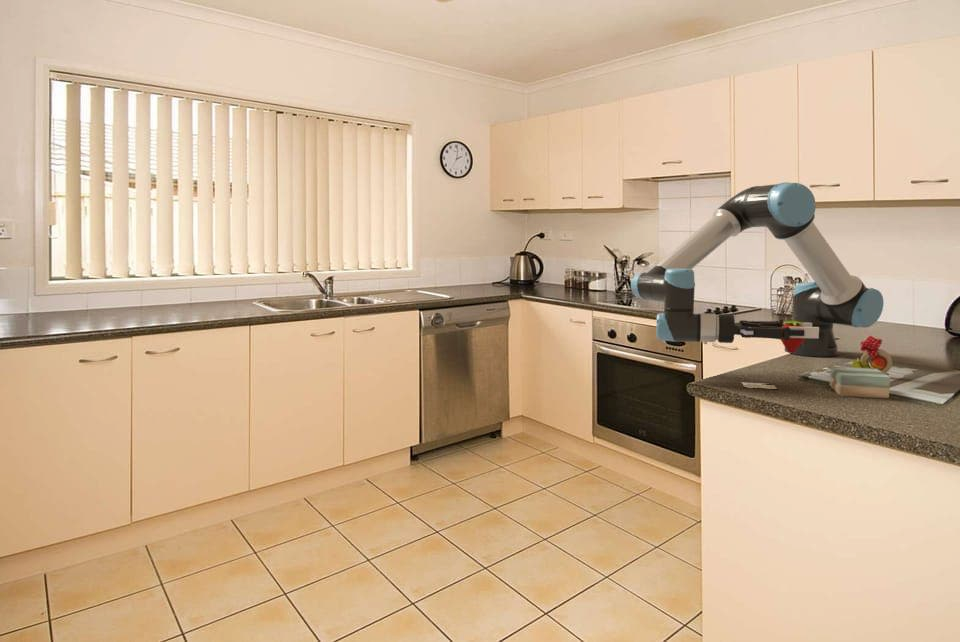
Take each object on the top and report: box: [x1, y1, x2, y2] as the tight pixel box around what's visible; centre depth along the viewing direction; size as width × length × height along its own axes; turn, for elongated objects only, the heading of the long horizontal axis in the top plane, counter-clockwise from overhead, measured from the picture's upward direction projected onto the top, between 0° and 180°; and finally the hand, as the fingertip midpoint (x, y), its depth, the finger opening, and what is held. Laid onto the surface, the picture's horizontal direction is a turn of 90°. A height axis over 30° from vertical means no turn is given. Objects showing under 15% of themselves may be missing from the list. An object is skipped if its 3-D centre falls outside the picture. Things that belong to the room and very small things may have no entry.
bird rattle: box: [851, 335, 893, 374], centre depth 164 cm, size 6×11×9 cm
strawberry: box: [780, 316, 805, 354], centre depth 155 cm, size 6×8×10 cm
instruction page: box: [740, 381, 767, 387], centre depth 154 cm, size 6×8×1 cm
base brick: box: [829, 366, 891, 399], centre depth 148 cm, size 10×10×5 cm
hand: (814, 330), depth 153 cm, fingers closed on strawberry, 7 cm apart
